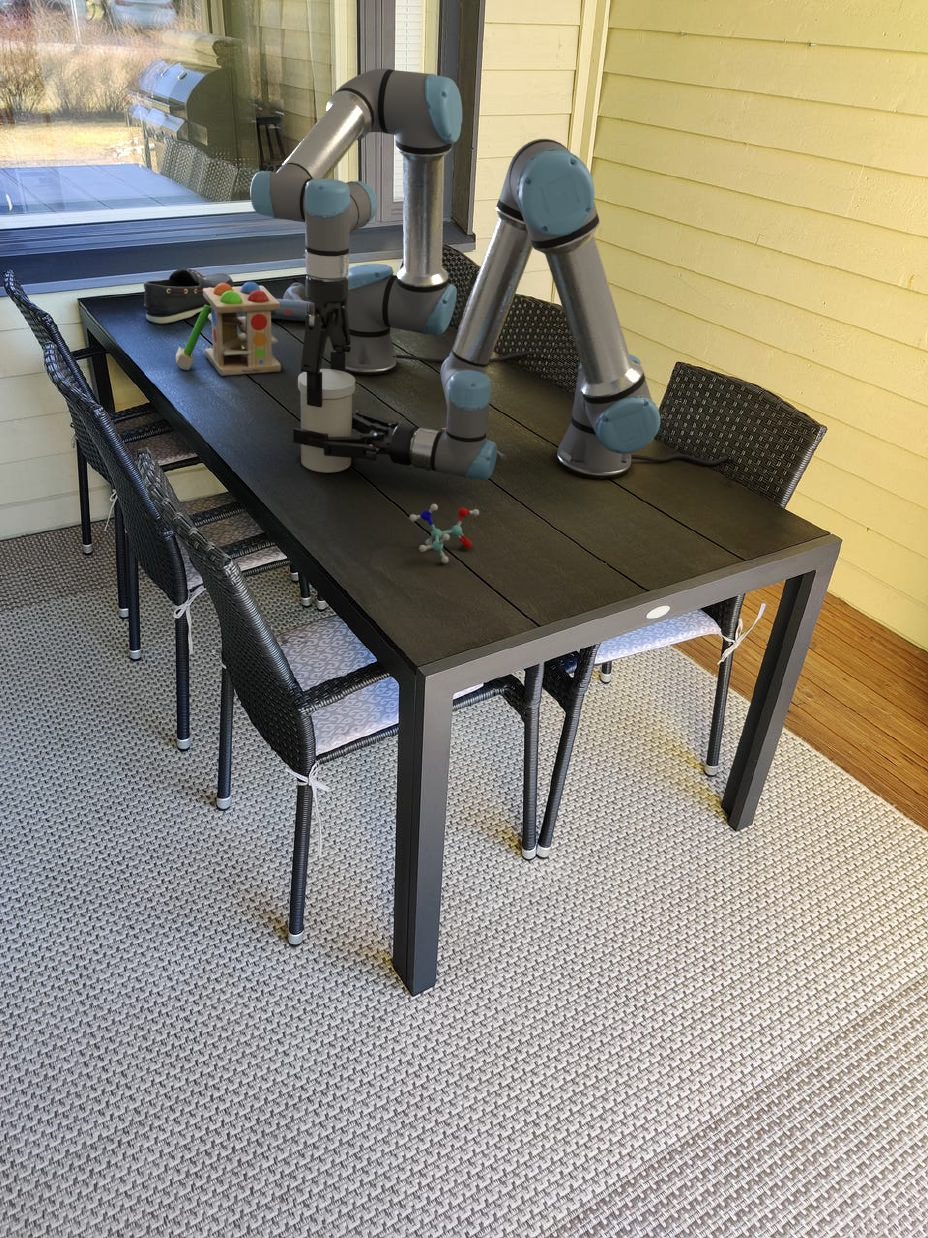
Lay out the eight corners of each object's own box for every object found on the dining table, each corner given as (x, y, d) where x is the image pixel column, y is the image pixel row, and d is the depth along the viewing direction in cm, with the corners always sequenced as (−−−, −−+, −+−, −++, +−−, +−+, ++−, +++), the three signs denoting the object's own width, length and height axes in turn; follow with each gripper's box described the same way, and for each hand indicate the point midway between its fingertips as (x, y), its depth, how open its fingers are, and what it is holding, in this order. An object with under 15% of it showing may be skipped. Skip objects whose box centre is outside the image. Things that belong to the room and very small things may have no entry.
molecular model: (470, 557, 159) (450, 498, 158) (419, 572, 163) (399, 515, 161) (491, 545, 170) (472, 489, 168) (442, 560, 173) (424, 506, 172)
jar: (341, 476, 188) (343, 395, 179) (293, 467, 189) (292, 387, 180) (357, 455, 196) (359, 377, 187) (311, 447, 197) (311, 369, 188)
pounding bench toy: (183, 379, 220) (176, 299, 210) (169, 357, 231) (162, 280, 221) (282, 371, 230) (280, 294, 220) (264, 350, 240) (262, 276, 230)
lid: (340, 374, 190) (341, 366, 189) (364, 394, 183) (364, 385, 182) (289, 381, 185) (289, 372, 184) (311, 401, 178) (311, 392, 177)
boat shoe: (253, 302, 272) (251, 263, 267) (163, 325, 248) (159, 283, 243) (219, 293, 278) (216, 255, 272) (128, 316, 254) (123, 274, 248)
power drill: (344, 304, 276) (335, 327, 259) (277, 298, 275) (264, 321, 258) (344, 285, 273) (335, 306, 256) (277, 279, 272) (264, 300, 255)
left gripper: (332, 257, 182) (331, 372, 195) (279, 288, 164) (282, 413, 176) (370, 263, 181) (366, 378, 194) (321, 296, 162) (320, 420, 175)
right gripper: (394, 489, 178) (281, 465, 183) (431, 442, 197) (327, 422, 201) (396, 451, 174) (280, 428, 178) (433, 407, 192) (328, 387, 196)
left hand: (326, 395), depth 185 cm, fingers closed on lid, 11 cm apart
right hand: (305, 425), depth 190 cm, fingers closed on jar, 10 cm apart
